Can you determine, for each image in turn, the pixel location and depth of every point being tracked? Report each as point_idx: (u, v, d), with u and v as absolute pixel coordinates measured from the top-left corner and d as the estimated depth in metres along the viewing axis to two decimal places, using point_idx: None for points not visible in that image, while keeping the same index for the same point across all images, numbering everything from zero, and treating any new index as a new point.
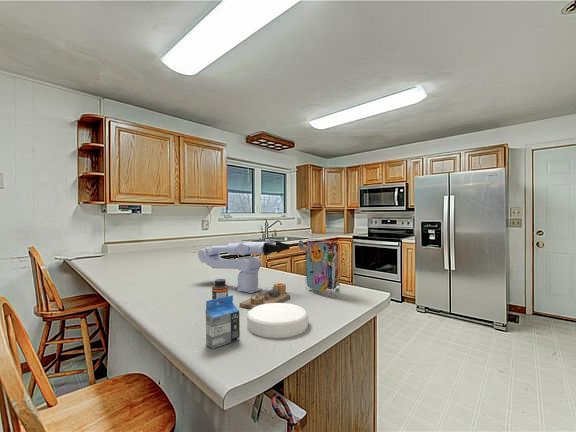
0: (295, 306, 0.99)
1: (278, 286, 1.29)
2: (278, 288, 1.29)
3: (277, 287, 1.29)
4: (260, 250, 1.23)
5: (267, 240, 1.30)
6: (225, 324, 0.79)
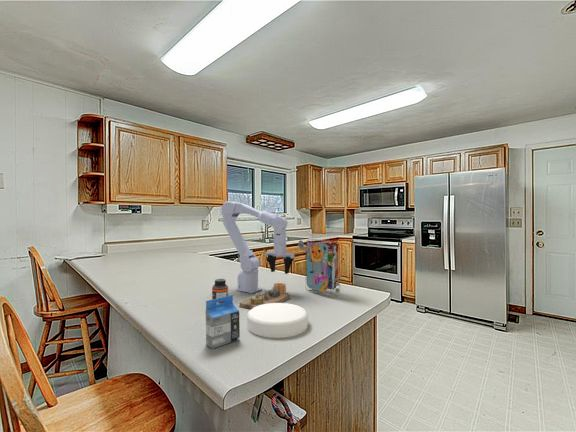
0: (295, 306, 0.99)
1: (278, 286, 1.29)
2: (278, 288, 1.29)
3: (277, 287, 1.29)
4: (292, 257, 1.27)
5: None
6: (225, 324, 0.79)
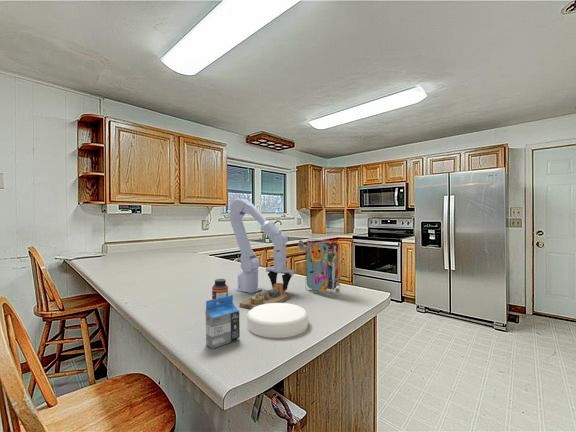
0: (295, 306, 0.99)
1: (278, 286, 1.29)
2: (278, 288, 1.29)
3: (277, 287, 1.29)
4: (292, 273, 1.28)
5: None
6: (225, 324, 0.79)
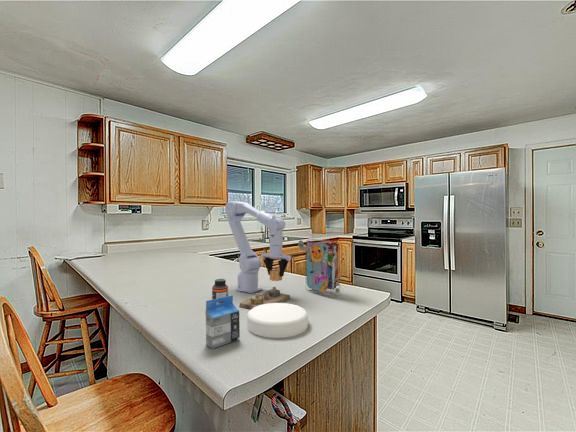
0: (295, 306, 0.99)
1: (274, 272, 1.25)
2: (274, 274, 1.25)
3: (273, 273, 1.25)
4: (289, 259, 1.23)
5: None
6: (225, 324, 0.79)
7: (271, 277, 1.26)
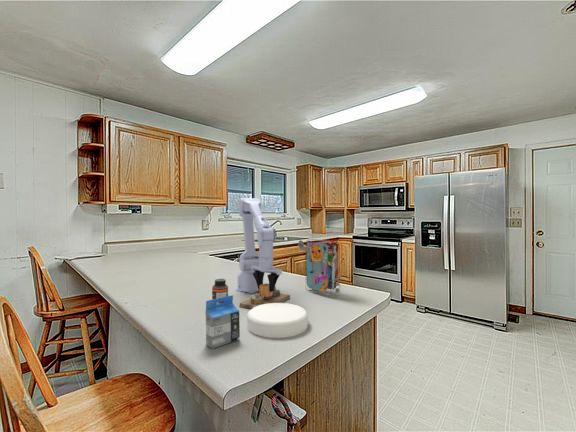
0: (295, 306, 0.99)
1: (264, 287, 1.15)
2: (264, 289, 1.15)
3: (263, 288, 1.15)
4: (279, 273, 1.13)
5: None
6: (225, 324, 0.79)
7: (261, 292, 1.16)
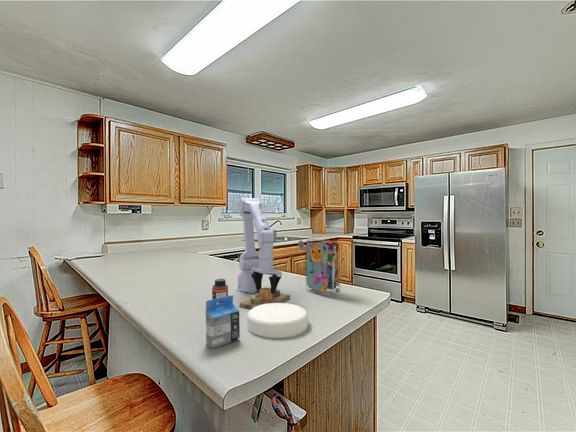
0: (295, 306, 0.99)
1: (264, 291, 1.15)
2: (264, 293, 1.15)
3: (263, 292, 1.15)
4: (279, 275, 1.13)
5: None
6: (225, 324, 0.79)
7: None
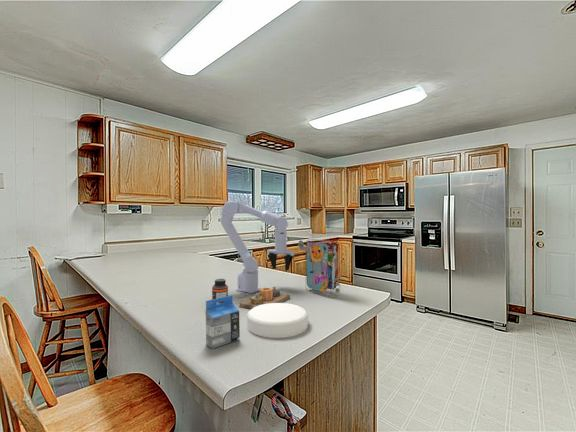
0: (295, 306, 0.99)
1: (264, 291, 1.15)
2: (264, 293, 1.15)
3: (263, 292, 1.15)
4: (292, 254, 1.35)
5: None
6: (225, 324, 0.79)
7: None
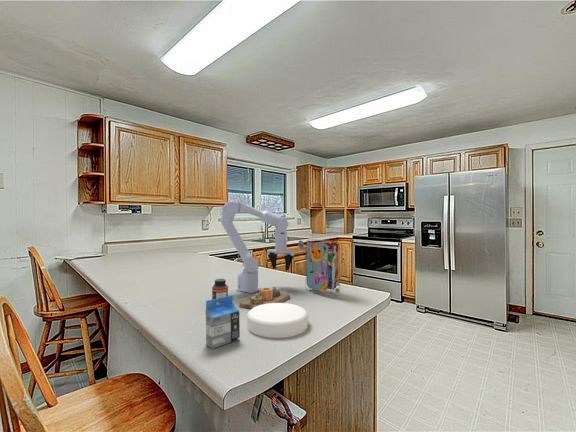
0: (295, 306, 0.99)
1: (264, 291, 1.15)
2: (264, 293, 1.15)
3: (263, 292, 1.15)
4: (293, 254, 1.36)
5: None
6: (225, 324, 0.79)
7: None
